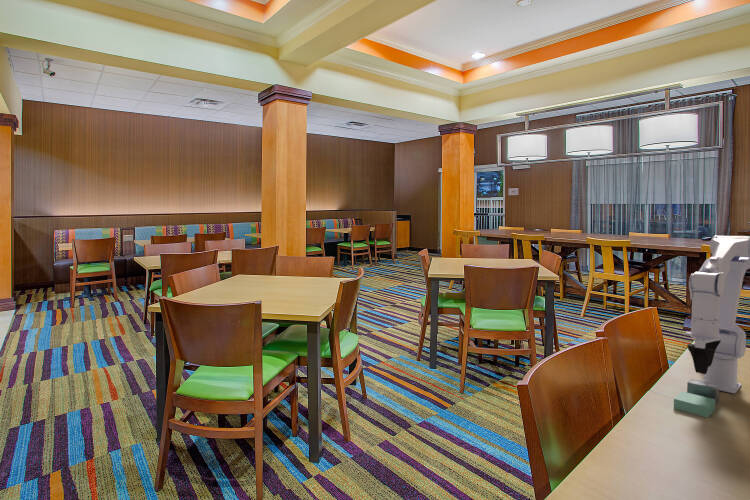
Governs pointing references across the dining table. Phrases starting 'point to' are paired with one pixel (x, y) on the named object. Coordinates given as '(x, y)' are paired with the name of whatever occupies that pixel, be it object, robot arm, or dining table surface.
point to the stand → (694, 404)
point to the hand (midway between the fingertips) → (703, 369)
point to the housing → (703, 389)
